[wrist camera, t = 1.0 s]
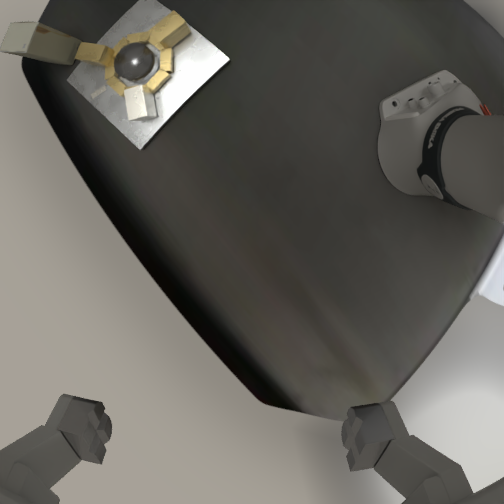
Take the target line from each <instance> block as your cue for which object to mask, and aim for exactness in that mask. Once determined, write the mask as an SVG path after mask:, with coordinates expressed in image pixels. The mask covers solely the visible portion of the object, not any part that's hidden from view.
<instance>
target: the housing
mask: <svg viewBox="0 0 504 504" xmlns="http://www.w3.org/2000/svg"><path fill="white" fill-rule="evenodd" d="M170 13H171V11H170V10H169V9H167V8H166V7H165V6H163V5H162V4H161V3H159V2H158V1H156V0H139V1H138V2H137V3H136V4H135V5H134V6H133V7H132V8H131V9H129V10H128V11H127V12H126V13H125V14H124V15H123V16H122V17H121V18H120V19H119V20H118V21H117V22H116V23H115V24H114V25H113V26H112V27H111V28H110V30H109V31H108V32H107V33H106V34H105V35H104V36H103V37H102V38H101V39H100V40H99V41H98V43H97V44H100V45H106V46H108V47H109V48H111V49H113V48H114V47H115V45H116V44H117V43H118V42H119V41H120V40H121V39H122V38H123V37H125V38H126V39H127V35H128V34H134V33H140V32H147V31H149V30H150V29H151V28H152V27H153V26H155V25H156V24H157V23H158V22H160V21H161V20H162V19H163V18H165V17H166V16H167V15H168V14H170ZM187 25H188V24H187ZM188 27H189V29H190V30H191V33H190V34H188V35H187V36H186V37H185V38H183V39H182V40H181V41H179V42H178V43H177V44H176V45H174V46H173V47H172V49H173V73H168V74H169V75H170V76H171V77H170V78H169V79H168V80H167V81H166V82H165V83H164V84H163V85H162V86H161V87H160V88H159V89H158V90H157V91H156V92H155V93H154V94H153V96H154V102H155V108H156V114H157V117H155V118H151V119H148V120H144V121H129V119H128V113H127V107H126V101H125V97H122V96H120V95H119V94H118V93H117V92H116V91H115V90H113V89H112V88H111V87H110V86H109V85H108V84H107V83H106V82H107V81H108V80H105V67H103V66H97V65H92V64H88V63H85V62H82V61H81V63H80V64H79V65H78V66H77V67H76V69H75V70H74V71H73V73H72V74H71V75H70V76H69V78H68V79H67V81H68V82H69V83H70V84H71V85H72V86H73V87H74V88H75V89H76V90H78V91H79V92H80V93H81V94H82V95H83V96H84V97H85V98H86V99H87V100H88V101H89V102H90V103H91V104H92V105H93V106H94V107H95V108H96V109H98V110H99V111H100V112H101V113H102V114H103V115H104V116H105V117H106V118H107V119H108V120H109V121H110V122H111V123H112V124H113V125H114V126H115V127H117V128H118V129H119V130H120V131H121V132H122V133H123V134H124V135H125V136H126V137H127V138H128V139H129V140H130V141H131V142H132V143H133V144H134V145H135V146H137V147H138V148H139V149H140V150H143V149H145V147H146V146H147V145H148V144H149V143H150V142H151V141H152V139H153V138H154V137H155V136H156V135H157V134H158V133H159V132H160V131H161V129H162V128H163V127H164V126H165V125H166V124H167V123H168V122H169V121H170V120H171V119H172V118H173V117H174V116H175V114H176V113H177V112H178V111H179V110H180V109H181V108H182V107H183V106H184V105H185V104H186V103H187V102H188V101H189V100H190V99H191V98H192V97H193V96H194V95H195V94H196V93H197V92H198V91H199V90H200V89H201V88H202V87H203V86H205V85H206V84H207V83H208V82H209V81H210V80H211V79H212V78H213V77H214V76H215V75H216V74H217V73H218V72H220V71H221V70H222V69H223V68H224V67H225V66H226V65H227V64H228V63H230V59H229V58H228V57H227V56H226V55H224V54H223V53H222V52H221V51H220V50H219V49H218V48H216V47H215V46H214V45H213V44H212V43H210V42H209V41H208V40H207V39H206V38H204V37H203V36H202V35H201V34H200V33H198V32H197V31H196V30H195V29H193V28H192V27H191V26H190V25H188ZM160 53H161V51H159V50H158V49H157V48H156V47H155V46H153V45H152V44H151V43H147V44H142V43H130V44H128V45H126V46H124V47H123V48H122V49H121V50H120V51H119V52H118V53H117V55H116V57H115V60H114V69H115V71H116V73H117V74H118V78H119V79H120V80H121V81H123V82H124V83H125V84H126V85H127V86H128V87H130V86H137V85H145V84H146V83H147V82H148V81H149V80H150V79H151V78H152V77H153V76H154V75H155V74H156V73H157V72H158V71H159V70H160Z"/></svg>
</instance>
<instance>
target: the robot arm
mask: <svg viewBox="0 0 504 504" xmlns="http://www.w3.org/2000/svg"><path fill="white" fill-rule="evenodd" d="M453 81H454V82H455V83H454V82H453ZM392 102H394V103H395V106H393V105H392ZM484 108H485V109H484ZM379 111H380V118H381V128H380V132H379V137H378V157H379V162H380V165H381V168H382V170H383V172H384V174H385V176H386V177H387V179H388V180H389V182H390V183H391V184H392V185H393V186H394V187H395V188H397V189H398V190H400V191H401V192H403V193H406V194H409V195H417V196H418V195H428V196H435V197H437V198H439V199H441V200H443V201H445V202H447V203H449V204H452V205H454V206H457V207H459V208H462V209H465V210H474V211H477V212H479V213H481V214H483V215H485V216H487V217H489V218H491V219H494V220H496V221H498V222H500V223H502V224H504V115H491V114H490V112H489V110H488V108H487V107H486V105H485V104H484V107H483V105H482V104H481V102H480V101H479V99H478V98H477V96H476V95H475V94H474V92H473V91H472V90H471V89H470V88H469V87H467V86H466V85H464V84H462V83H461V82H460V81H459V80H458V79H457V78H456V77H455V76H454V75H453V74H451V73H450V72H448V71H446V70H441V71H438V72H436V73H434V74H432V75H430V76H428V77H426V78H424V79H422V80H420V81H418V82H416V83H414V84H412V85H410V86H408V87H406V88H404V89H402V90H400V91H398V92H396V93H395V94H393V95H391V96H389V97H387V98H385V99H383V100H382V101H381V102H380V105H379ZM104 410H105V407H104V405H103V403H102V402H99V401H94V400H89V399H84V398H80V397H76V396H71V395H67V394H63V395H61V396H60V398H59V399H58V401H57V403H56V405H55V407H54V409H53V411H52V413H51V415H50V417H49V418H48V420H47V422H46V424H45V426H42V425H41V426H40V427H38V428H36V429H35V430H33V431H31V432H30V433H28V434H27V435H25V436H24V437H22V438H20V439H18V440H17V441H15V442H13V443H12V444H10V445H8V446H7V447H5V448H3V449H2V450H0V504H59V501H60V499H59V497H58V496H57V495H55V494H54V493H53V492H52V491H51V490H50V488H51V487H52V486H53V485H54V484H56V483H57V482H58V481H59V480H60V479H61V478H62V477H64V476H65V475H66V474H67V473H68V472H69V471H70V470H71V469H73V468H74V467H75V466H76V465H77V464H78V463H79V462H80V461H81V460H85V461H88V462H93V463H97V464H102V461H103V459H104V456H105V453H106V448H105V446H104V444H105V443H106V442H108V441H109V440H110V437H111V434H112V424H111V420H110V418H109V416H108V415H107V414H106V413H104ZM347 416H348V419H347V420H345V421H344V423H343V426H342V434H341V435H342V442H343V446H344V447H345V448H347V449H348V450H349V452H348V454H347V456H346V457H347V461H348V464H349V468H350V471H358V470H364V469H369V468H374V470H375V471H376V472H377V473H378V474H380V475H381V476H382V477H383V478H384V479H385V480H386V481H387V482H388V483H390V485H392V486H393V487H394V488H395V489H396V490H397V491H398V492H399V493H400V494H402V495H403V496H404V497H405V498H406V500H405V501H404V502H403V503H402V504H504V477H503V478H501V479H500V480H498V481H496V482H495V483H493V484H491V485H489V486H487V487H485V488H483V489H482V490H480V491H478V492H476V493H473V491H472V489H471V487H470V484H469V482H468V480H467V478H466V476H465V474H464V471H463V469H462V467H461V465H459V464H457V463H456V462H454V461H453V460H451V459H449V458H448V457H446V456H445V455H443V454H442V453H440V452H438V451H437V450H435V449H434V448H432V447H431V446H429V445H428V444H426V443H425V442H423V441H422V440H420V439H418V438H417V437H415V436H414V435H411V436H409V434H408V431H407V429H406V427H405V425H404V423H403V420H402V418H401V416H400V414H399V412H398V410H397V407H396V405H395V403H394V402H393V401H386V402H381V403H373V404H367V405H360V406H354V407H350V408H349V409H348V412H347Z"/></svg>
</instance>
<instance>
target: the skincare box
mask: <svg viewBox="0 0 504 504" xmlns="http://www.w3.org/2000/svg"><path fill="white" fill-rule="evenodd" d="M81 42H82V41H81V40H79V39H77V38H74V37H72V36H70V35H67V34H65V33H63V32H61V31H58V30H56V29H53V28H51V27H48V26H46V25H44V24H41V23H39V22H14V23H10V25H9V28H8V30H7V33H6V34H5V37H4V39H3V42H2V45H1V47H0V52H4V53H9V54H15V55H19V56H24V57H28V58H32V59H37V60H41V61H45V62H50V63H56V64H64V65H73V63H74V61H75V56H76V53H77V51H78V48H79V46H80V44H81Z"/></svg>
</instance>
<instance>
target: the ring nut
mask: <svg viewBox="0 0 504 504" xmlns="http://www.w3.org/2000/svg"><path fill="white" fill-rule="evenodd" d="M190 33H191V30H190V29H189V27H188V25H187V23H186V21H185V20H184V19H183V18H182V17H181V16H180V15H178V14H177V13H176V12H175V11H172V12H171V13H170V14H168V15H167V16H166V17H165V18H163V19H162V20H161V21H160V22H158V23H157V24H156V25H155V26H153V27H152V28H151V29H150V30H149V31H147V32H140V33H134V34H128V35H127V39H126V38H125V37H123V38H122V39H121V40H120V41H119V42H118V43H117V44H116V45H115V47H114V48H113V49H111V48H109V47H108V46H106V45H100V44H92V43H84V42H81V44H80V46H79V48H78V51H77V53H76V56H75V59H77V60H79V61H82V62H85V63H88V64H92V65H97V66H103V67H105V80H108V81H107V82H106V83H107V84H108V85H109V86H110V87H111V88H112V89H113V90H115V91H116V92H117V93H118V94H119V95H120V96H122V97H125V101H126V107H127V113H128V119H129V121H144V120H148V119H151V118H155V117H157V114H156V108H155V102H154V96H153V94H154V93H155V92H156V91H157V90H158V89H159V88H160V87H161V86H162V85H163V84H164V83H165V82H166V81H167V80H168V79H169V78H170V77H171V76H170V75H169V74H168V73H173V49H172V47H173V46H174V45H176V44H177V43H178V42H179V41H181V40H182V39H183V38H185V37H186V36H187V35H188V34H190ZM130 43H142V44H147V43H151V44H152V45H153V46H155V47H156V48H157V49H158V50H159V51H161V53H160V70H159V71H158V72H157V73H156V74H155V75H154V76H153V77H152V78H151V79H150V80H149V81H148V82H147V83H146V84H145V85H137V86H130V87H128V86H127V85H126V84H125V83H124V82H123V81H121V80H120V79H119V78H118V74H117V73H116V71H115V69H114V60H115V57H116V55H117V53H118V52H119V51H120V50H121V49H122V48H123V47H124V46H126V45H128V44H130Z"/></svg>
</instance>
